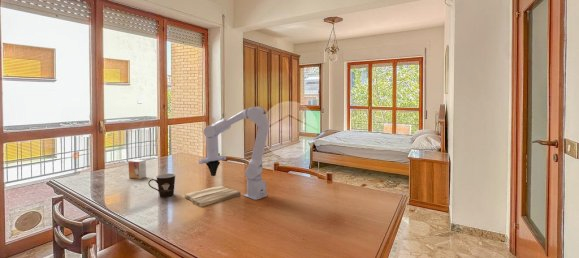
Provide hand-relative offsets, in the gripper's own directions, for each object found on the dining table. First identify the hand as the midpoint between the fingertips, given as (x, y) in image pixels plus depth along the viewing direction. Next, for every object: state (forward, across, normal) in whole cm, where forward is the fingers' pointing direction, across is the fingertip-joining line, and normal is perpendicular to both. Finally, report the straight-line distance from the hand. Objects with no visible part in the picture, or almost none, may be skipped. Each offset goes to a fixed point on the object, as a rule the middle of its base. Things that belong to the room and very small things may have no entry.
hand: (213, 175), depth 148 cm
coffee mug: (+9, +19, -16) cm, 26 cm away
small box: (+9, +14, -60) cm, 63 cm away
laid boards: (+9, +4, +9) cm, 13 cm away
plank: (+9, +4, +1) cm, 10 cm away
